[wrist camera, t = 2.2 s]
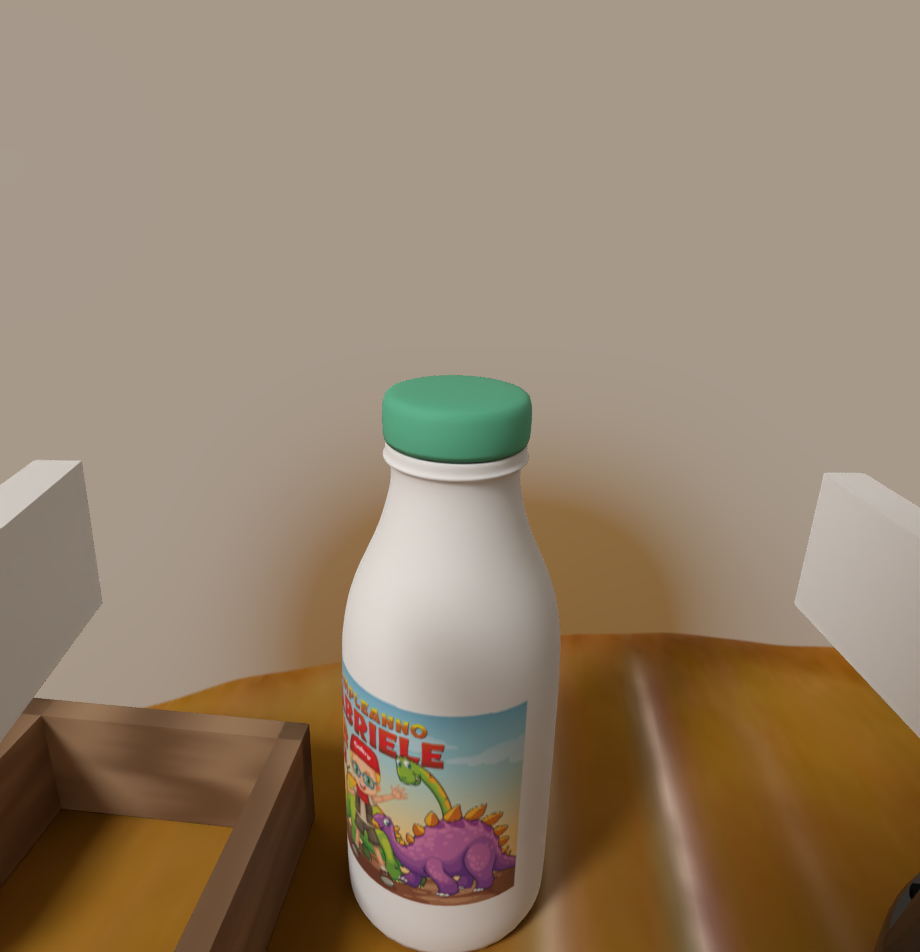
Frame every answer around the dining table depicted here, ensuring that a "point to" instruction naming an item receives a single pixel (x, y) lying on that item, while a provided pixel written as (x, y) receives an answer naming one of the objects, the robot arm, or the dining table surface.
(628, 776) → the dining table surface
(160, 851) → the dining table surface
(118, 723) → the walnut U-rest
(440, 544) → the milk bottle
